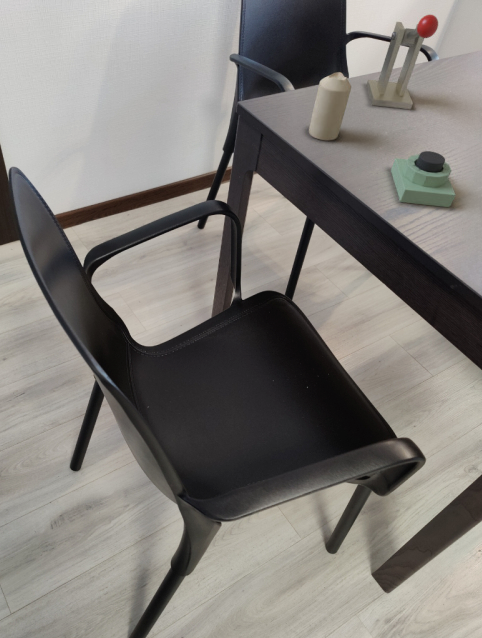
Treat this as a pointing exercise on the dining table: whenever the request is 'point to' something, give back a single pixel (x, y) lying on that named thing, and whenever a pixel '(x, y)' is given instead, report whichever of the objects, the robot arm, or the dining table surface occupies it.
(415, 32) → the lever
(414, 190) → the button box
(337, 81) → the candle
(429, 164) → the button
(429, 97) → the dining table surface
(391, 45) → the bracket
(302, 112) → the dining table surface
